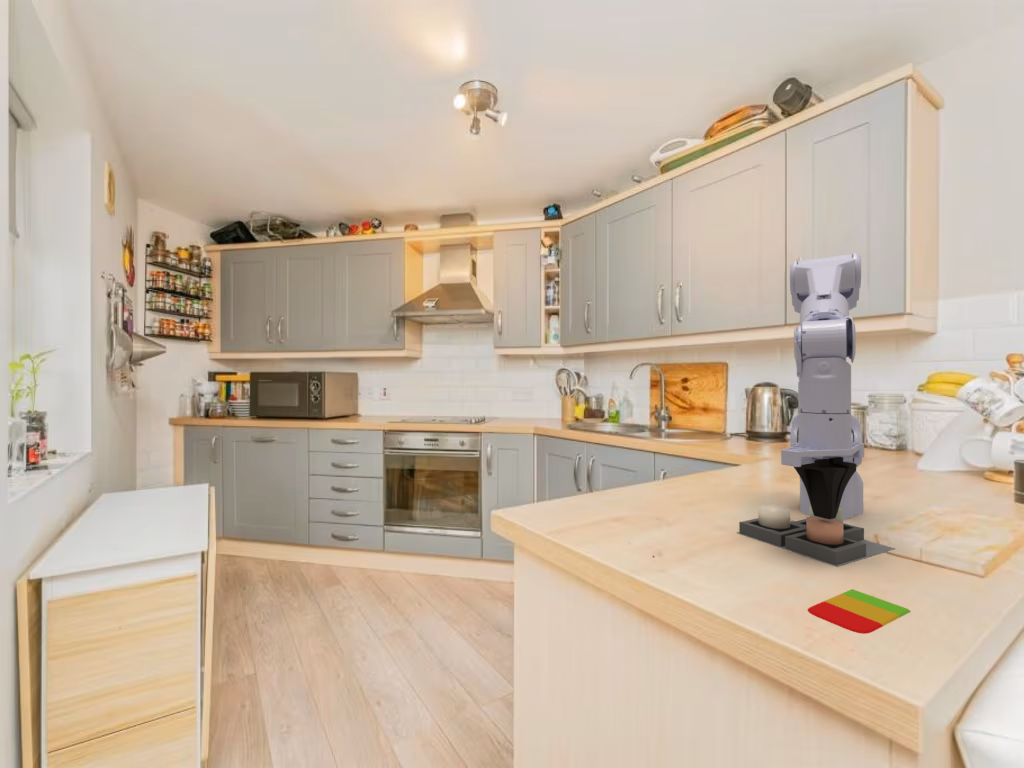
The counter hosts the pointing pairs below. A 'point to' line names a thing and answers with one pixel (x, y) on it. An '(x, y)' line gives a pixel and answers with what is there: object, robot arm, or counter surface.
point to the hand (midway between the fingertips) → (824, 516)
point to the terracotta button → (824, 530)
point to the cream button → (774, 516)
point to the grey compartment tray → (800, 544)
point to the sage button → (838, 516)
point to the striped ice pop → (858, 611)
